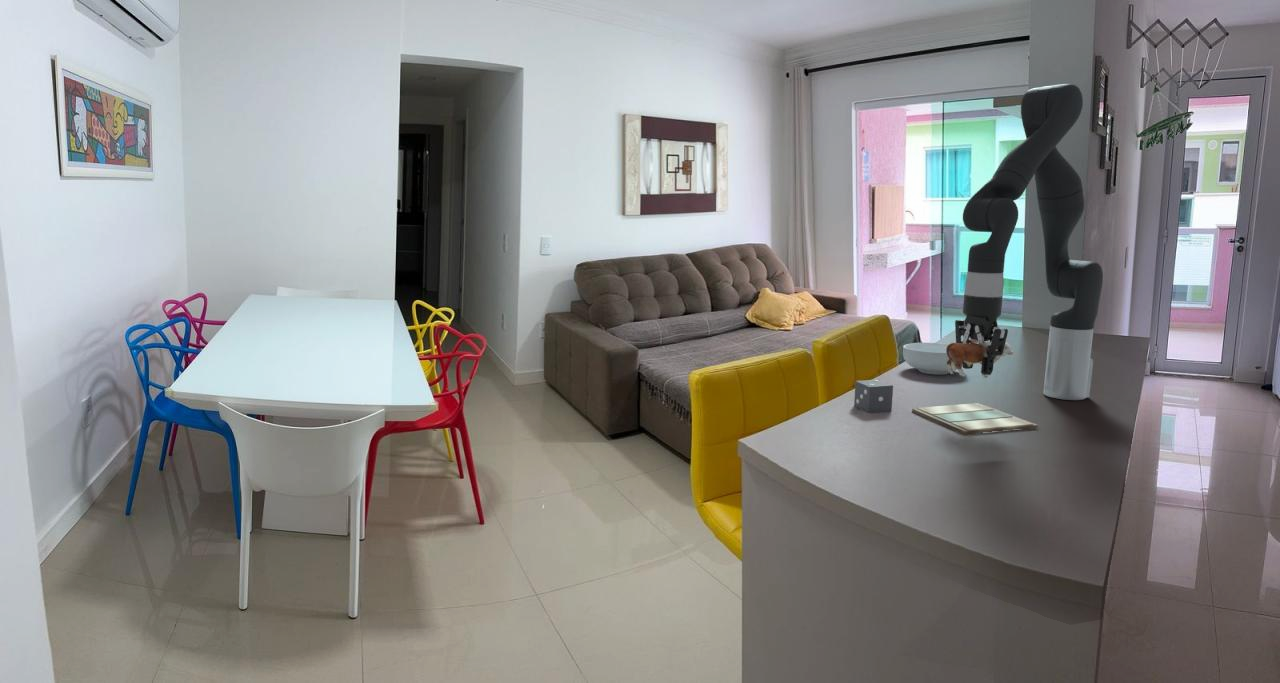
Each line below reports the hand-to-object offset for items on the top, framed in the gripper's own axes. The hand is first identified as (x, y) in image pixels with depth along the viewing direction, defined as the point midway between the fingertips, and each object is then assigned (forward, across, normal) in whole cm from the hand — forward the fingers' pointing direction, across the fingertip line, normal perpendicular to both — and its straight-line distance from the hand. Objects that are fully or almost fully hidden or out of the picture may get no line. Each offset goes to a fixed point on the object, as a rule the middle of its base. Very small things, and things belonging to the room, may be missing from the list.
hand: (976, 370), depth 167 cm
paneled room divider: (+11, 0, 0) cm, 11 cm away
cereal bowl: (+11, +44, -22) cm, 50 cm away
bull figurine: (+1, 0, 0) cm, 1 cm away
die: (+11, +14, +16) cm, 24 cm away
